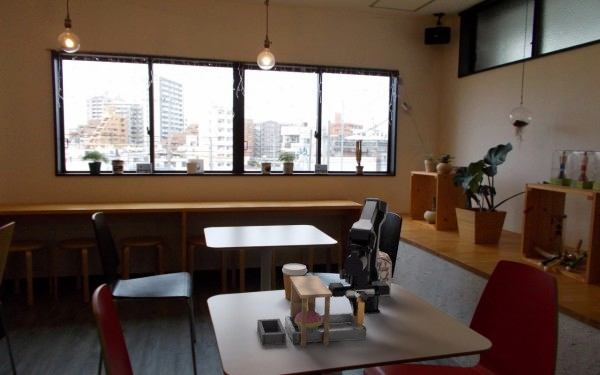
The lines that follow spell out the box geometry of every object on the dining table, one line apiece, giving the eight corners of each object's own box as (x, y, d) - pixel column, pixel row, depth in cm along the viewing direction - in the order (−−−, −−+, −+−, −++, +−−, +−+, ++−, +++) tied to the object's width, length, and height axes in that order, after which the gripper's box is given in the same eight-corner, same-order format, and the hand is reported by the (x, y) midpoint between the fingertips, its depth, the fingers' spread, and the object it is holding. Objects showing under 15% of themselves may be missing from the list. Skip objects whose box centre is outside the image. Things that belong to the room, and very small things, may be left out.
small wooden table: (315, 321, 142) (317, 275, 141) (330, 345, 125) (332, 293, 124) (288, 323, 140) (289, 276, 139) (299, 347, 123) (301, 294, 122)
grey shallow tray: (353, 321, 143) (354, 292, 142) (367, 338, 130) (369, 307, 129) (285, 325, 138) (285, 295, 137) (293, 343, 125) (294, 311, 124)
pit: (279, 327, 136) (279, 318, 136) (285, 343, 126) (285, 333, 125) (257, 329, 135) (257, 319, 134) (261, 345, 124) (262, 335, 124)
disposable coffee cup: (287, 303, 158) (289, 271, 157) (277, 294, 166) (278, 264, 165) (310, 299, 162) (311, 268, 161) (299, 291, 171) (300, 262, 169)
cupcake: (290, 330, 135) (291, 292, 134) (314, 326, 138) (315, 290, 137) (300, 341, 127) (302, 302, 126) (326, 337, 130) (328, 299, 129)
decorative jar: (377, 286, 180) (379, 244, 179) (391, 296, 169) (393, 251, 168) (351, 288, 177) (353, 245, 175) (363, 298, 166) (365, 252, 164)
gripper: (378, 259, 144) (375, 304, 145) (324, 260, 140) (322, 307, 141) (392, 268, 133) (389, 317, 135) (334, 270, 129) (332, 320, 131)
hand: (357, 315), depth 136 cm, fingers closed on grey shallow tray, 2 cm apart
